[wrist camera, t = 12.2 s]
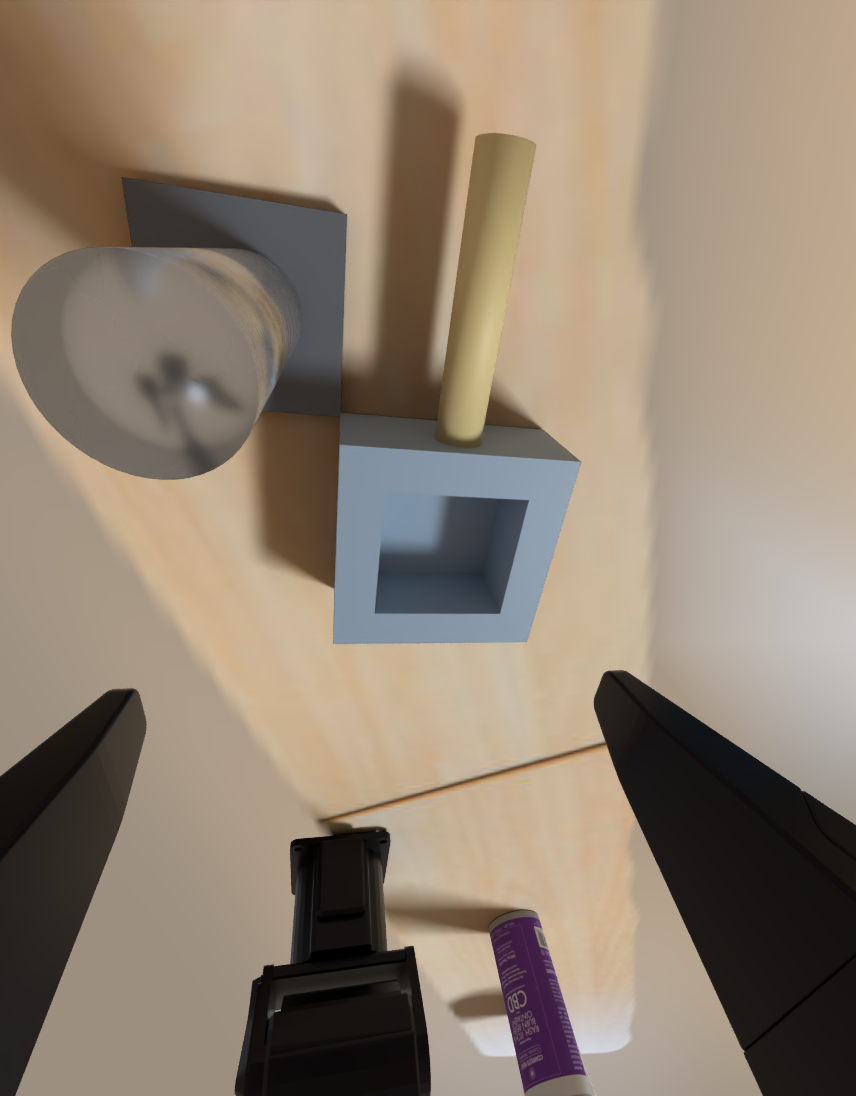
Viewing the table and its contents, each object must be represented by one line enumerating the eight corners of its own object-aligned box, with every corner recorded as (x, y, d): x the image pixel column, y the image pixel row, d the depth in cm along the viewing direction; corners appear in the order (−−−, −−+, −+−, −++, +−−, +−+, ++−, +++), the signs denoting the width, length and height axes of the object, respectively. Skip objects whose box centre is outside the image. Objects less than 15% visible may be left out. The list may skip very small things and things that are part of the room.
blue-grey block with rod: (502, 591, 23) (526, 642, 20) (334, 589, 21) (333, 643, 18) (605, 181, 15) (672, 161, 12) (349, 131, 14) (352, 93, 10)
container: (497, 911, 42) (566, 1197, 29) (545, 908, 43) (631, 1181, 30) (481, 936, 44) (539, 1211, 31) (527, 932, 45) (601, 1196, 32)
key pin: (303, 374, 16) (264, 485, 8) (195, 364, 15) (49, 473, 8) (302, 257, 14) (251, 265, 7) (180, 240, 14) (-26, 228, 6)
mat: (340, 412, 17) (340, 417, 17) (162, 397, 16) (156, 401, 16) (347, 215, 14) (346, 214, 14) (129, 180, 13) (121, 177, 13)
